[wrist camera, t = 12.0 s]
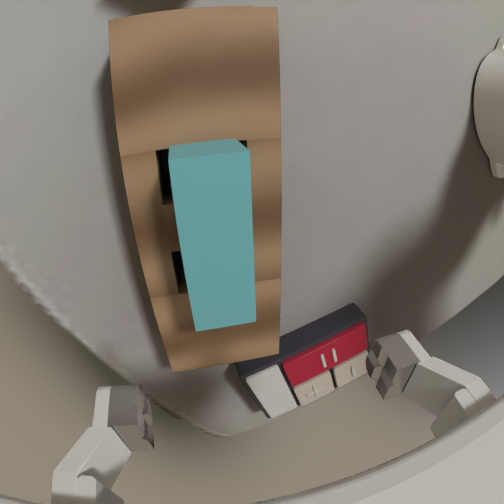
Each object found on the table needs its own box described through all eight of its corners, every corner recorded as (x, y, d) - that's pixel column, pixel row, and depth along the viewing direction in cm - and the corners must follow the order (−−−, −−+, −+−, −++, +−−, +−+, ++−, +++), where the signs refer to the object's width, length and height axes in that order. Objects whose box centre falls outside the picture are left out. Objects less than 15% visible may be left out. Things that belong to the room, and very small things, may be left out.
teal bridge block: (170, 136, 21) (168, 160, 14) (225, 130, 22) (249, 150, 15) (187, 267, 27) (195, 331, 20) (233, 260, 27) (256, 321, 21)
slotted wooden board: (120, 32, 17) (108, 20, 13) (258, 20, 19) (277, 7, 15) (170, 338, 31) (172, 372, 27) (266, 322, 33) (278, 353, 29)
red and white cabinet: (373, 372, 38) (270, 424, 36) (358, 351, 41) (260, 399, 40) (370, 319, 32) (240, 382, 31) (350, 296, 35) (230, 354, 34)
